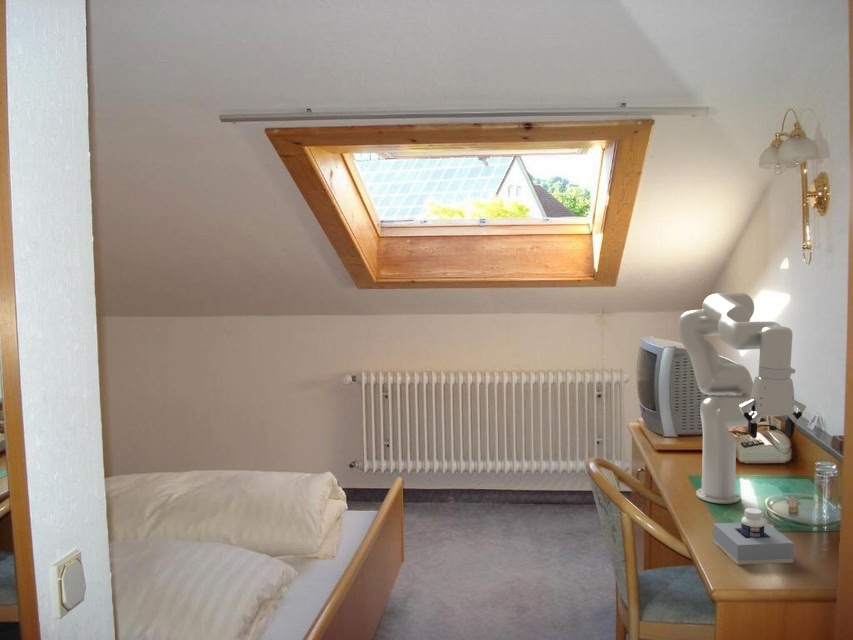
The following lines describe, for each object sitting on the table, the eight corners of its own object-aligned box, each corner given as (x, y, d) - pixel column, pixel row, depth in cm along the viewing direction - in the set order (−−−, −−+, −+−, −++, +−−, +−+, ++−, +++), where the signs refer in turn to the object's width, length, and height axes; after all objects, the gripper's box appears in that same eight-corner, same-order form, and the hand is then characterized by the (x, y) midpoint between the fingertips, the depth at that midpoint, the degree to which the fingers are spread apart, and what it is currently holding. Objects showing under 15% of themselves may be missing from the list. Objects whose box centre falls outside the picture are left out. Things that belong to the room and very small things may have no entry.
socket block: (712, 541, 196) (713, 523, 195) (764, 540, 197) (765, 521, 196) (737, 564, 182) (737, 545, 181) (793, 562, 183) (793, 543, 182)
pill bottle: (750, 553, 186) (751, 515, 185) (736, 544, 191) (736, 508, 190) (768, 550, 187) (769, 513, 186) (754, 542, 193) (755, 505, 192)
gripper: (799, 369, 200) (795, 431, 202) (735, 370, 199) (732, 432, 202) (814, 375, 192) (810, 439, 195) (747, 376, 192) (744, 440, 194)
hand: (770, 436), depth 198 cm, fingers open, 9 cm apart
